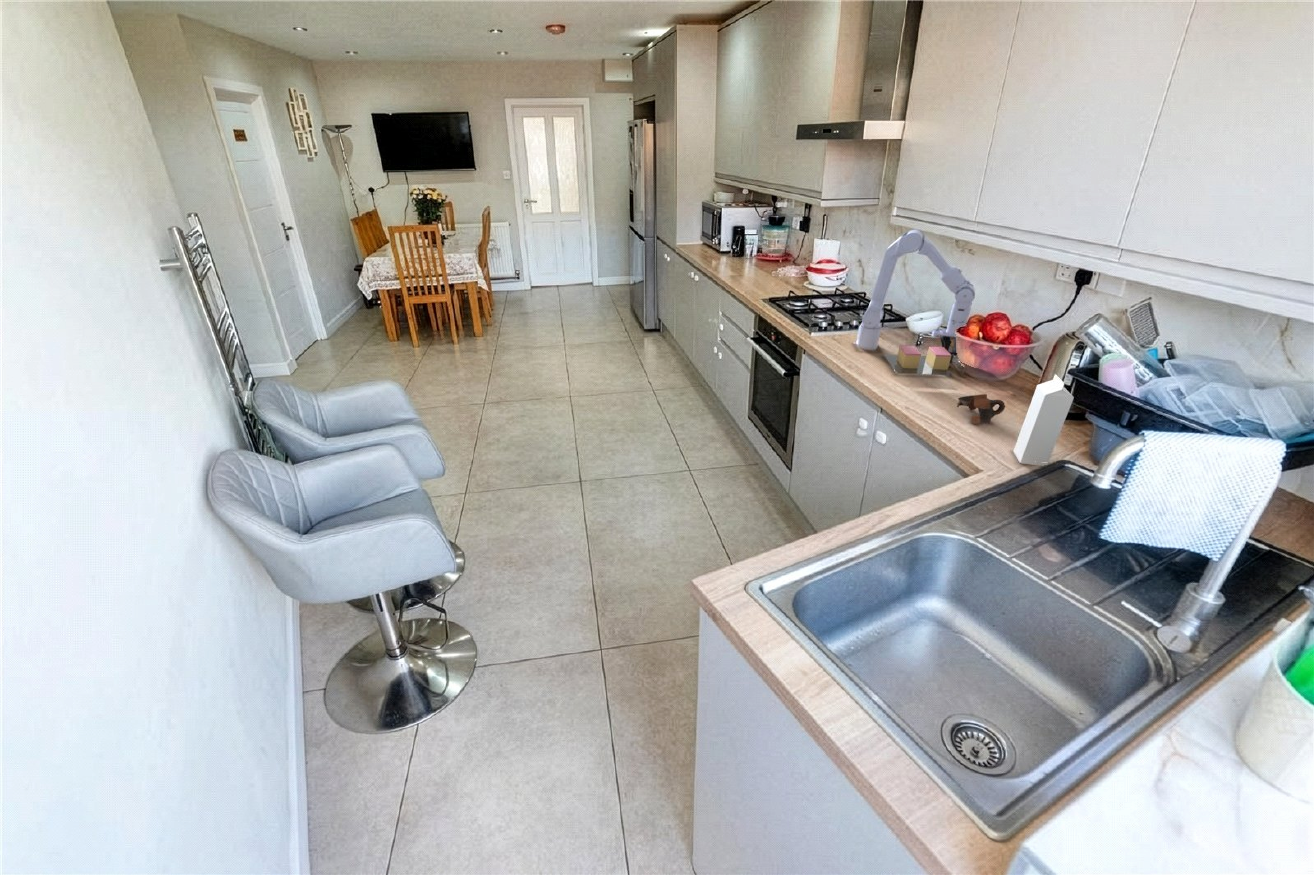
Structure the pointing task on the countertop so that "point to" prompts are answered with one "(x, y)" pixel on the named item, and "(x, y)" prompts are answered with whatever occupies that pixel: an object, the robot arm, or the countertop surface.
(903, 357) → the cake half
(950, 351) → the knife
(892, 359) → the board
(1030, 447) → the milk
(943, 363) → the cake slice
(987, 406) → the pottery mug
